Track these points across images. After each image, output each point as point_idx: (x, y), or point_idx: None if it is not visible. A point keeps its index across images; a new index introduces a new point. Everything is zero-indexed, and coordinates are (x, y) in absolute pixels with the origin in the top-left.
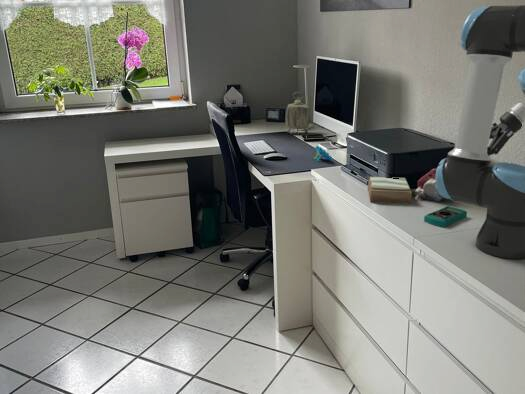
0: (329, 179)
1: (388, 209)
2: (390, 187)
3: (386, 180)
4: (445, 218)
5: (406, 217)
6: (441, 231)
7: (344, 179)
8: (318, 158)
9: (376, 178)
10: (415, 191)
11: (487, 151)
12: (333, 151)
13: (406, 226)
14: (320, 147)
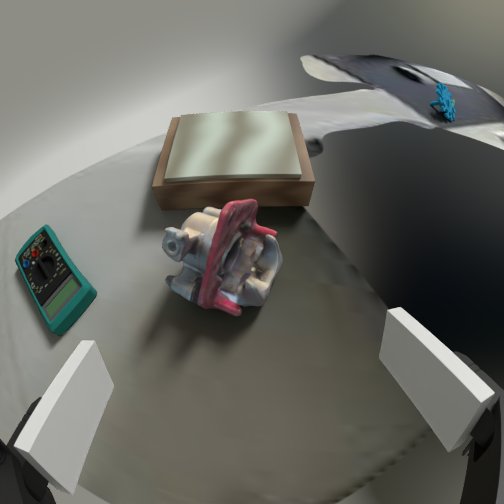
0: (331, 96)
1: (127, 169)
2: (183, 140)
3: (256, 134)
4: (22, 262)
5: (77, 200)
6: (10, 256)
7: (343, 112)
8: (434, 101)
9: (271, 119)
10: (207, 207)
11: (14, 448)
12: (496, 139)
13: (41, 201)
14: (438, 84)
